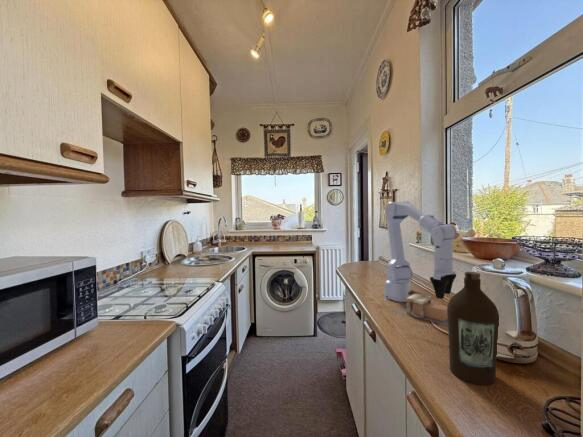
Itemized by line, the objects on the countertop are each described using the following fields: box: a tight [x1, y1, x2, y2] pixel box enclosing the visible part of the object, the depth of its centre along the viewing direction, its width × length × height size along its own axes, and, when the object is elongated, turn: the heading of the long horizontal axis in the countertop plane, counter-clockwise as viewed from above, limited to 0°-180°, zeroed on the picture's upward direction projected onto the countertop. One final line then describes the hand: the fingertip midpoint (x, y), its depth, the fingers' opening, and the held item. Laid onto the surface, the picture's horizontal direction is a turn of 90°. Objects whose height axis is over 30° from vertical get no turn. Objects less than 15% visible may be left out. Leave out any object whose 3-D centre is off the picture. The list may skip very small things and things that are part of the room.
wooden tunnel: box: [405, 292, 432, 319], centre depth 105 cm, size 6×8×6 cm
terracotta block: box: [412, 302, 448, 321], centre depth 102 cm, size 11×4×4 cm, turn 44°
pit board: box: [393, 304, 448, 326], centre depth 103 cm, size 21×10×1 cm, turn 44°
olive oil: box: [446, 271, 500, 386], centre depth 67 cm, size 11×11×25 cm
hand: (443, 295), depth 99 cm, fingers open, 7 cm apart
